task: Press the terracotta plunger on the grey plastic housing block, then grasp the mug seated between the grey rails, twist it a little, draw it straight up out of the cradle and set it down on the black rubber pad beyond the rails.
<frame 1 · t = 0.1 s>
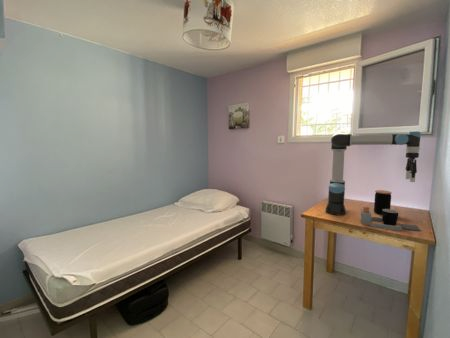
hand: (409, 180, 171), 28 cm above the table, fingers open, 13 cm apart
mug: (387, 225, 156), on the table
plunger: (366, 210, 161), point 9 cm above the table, slide at 0.0 cm
pad: (409, 227, 151), on the table
coffee jar: (381, 213, 181), on the table
housing: (365, 222, 162), on the table
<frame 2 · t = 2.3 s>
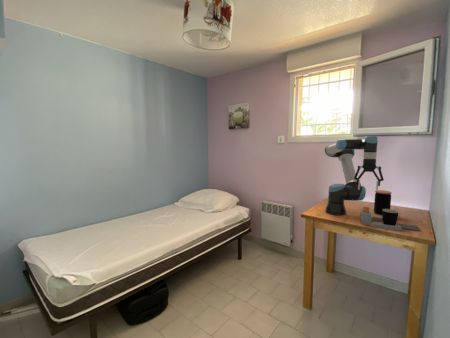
hand: (367, 189, 159), 24 cm above the table, fingers open, 10 cm apart
nothing on the table moved.
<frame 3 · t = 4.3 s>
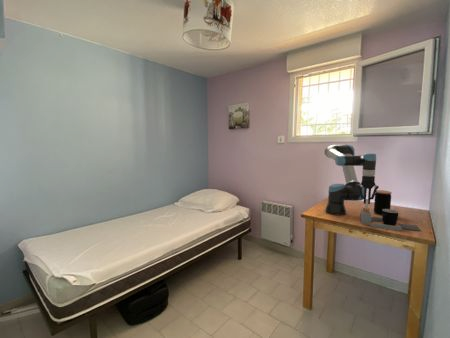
hand: (366, 208, 160), 10 cm above the table, fingers closed
plunger: (366, 212, 161), point 8 cm above the table, slide at 0.9 cm, touching gripper
everything else where it was.
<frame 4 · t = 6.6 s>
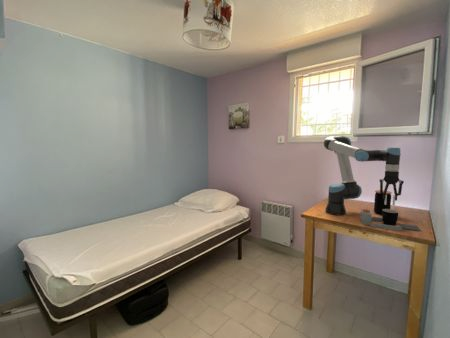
hand: (389, 204, 154), 15 cm above the table, fingers open, 4 cm apart
plunger: (366, 213, 161), point 7 cm above the table, slide at 1.8 cm
everything else where it was.
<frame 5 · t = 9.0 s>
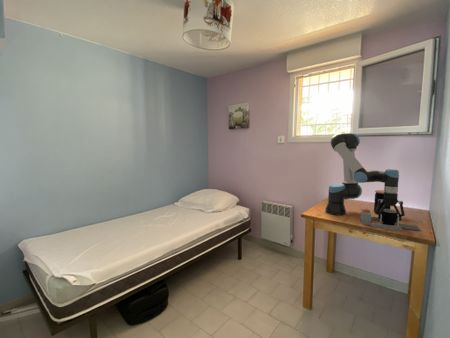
hand: (388, 224, 155), 1 cm above the table, fingers closed on mug, 9 cm apart
mug: (387, 225, 156), on the table, touching gripper
everything else where it was.
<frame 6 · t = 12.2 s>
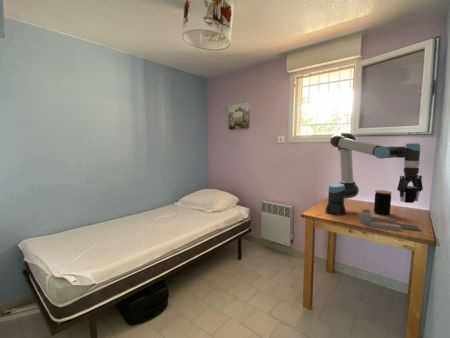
hand: (409, 201, 149), 18 cm above the table, fingers closed on mug, 9 cm apart
mug: (407, 202, 149), point 17 cm above the table, touching gripper
everything else where it was.
when the fingers open (3 cm above the table, at t = 15.6 s): mug drops 1 cm, resting on pad.
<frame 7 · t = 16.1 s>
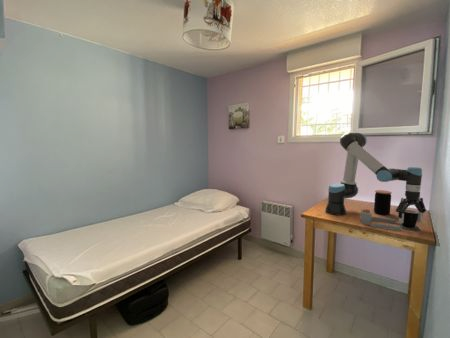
hand: (409, 222, 150), 4 cm above the table, fingers open, 13 cm apart
mug: (408, 226, 151), point 1 cm above the table, touching pad
everything else where it was.
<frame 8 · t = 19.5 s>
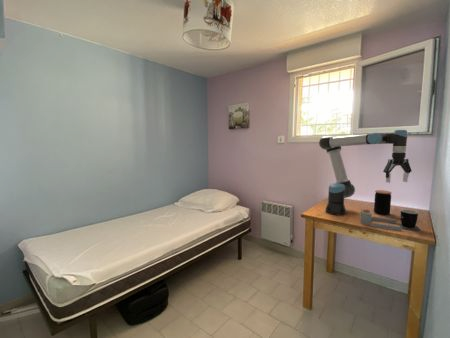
hand: (396, 182, 160), 29 cm above the table, fingers open, 13 cm apart
nothing on the table moved.
at the end: plunger slide at 1.8 cm; mug inside the target area on the pad (0.9 cm from its centre), point 0.4 cm above the pad's base; mug tilted 0° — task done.
